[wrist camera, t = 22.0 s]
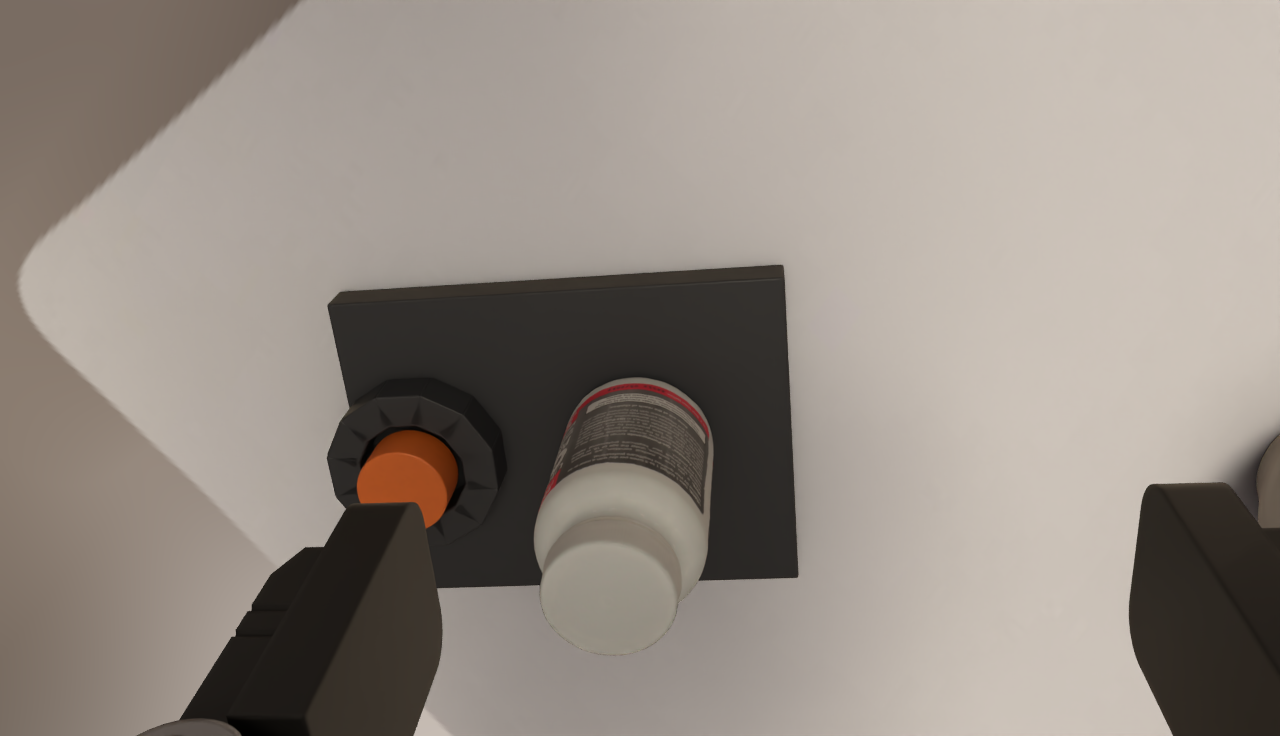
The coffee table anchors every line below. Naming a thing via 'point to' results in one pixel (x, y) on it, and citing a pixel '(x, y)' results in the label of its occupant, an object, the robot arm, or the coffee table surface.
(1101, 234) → the coffee table surface
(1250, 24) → the coffee table surface
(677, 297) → the scale
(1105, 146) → the coffee table surface
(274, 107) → the coffee table surface
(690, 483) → the pill bottle
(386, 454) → the button
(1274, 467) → the mug
